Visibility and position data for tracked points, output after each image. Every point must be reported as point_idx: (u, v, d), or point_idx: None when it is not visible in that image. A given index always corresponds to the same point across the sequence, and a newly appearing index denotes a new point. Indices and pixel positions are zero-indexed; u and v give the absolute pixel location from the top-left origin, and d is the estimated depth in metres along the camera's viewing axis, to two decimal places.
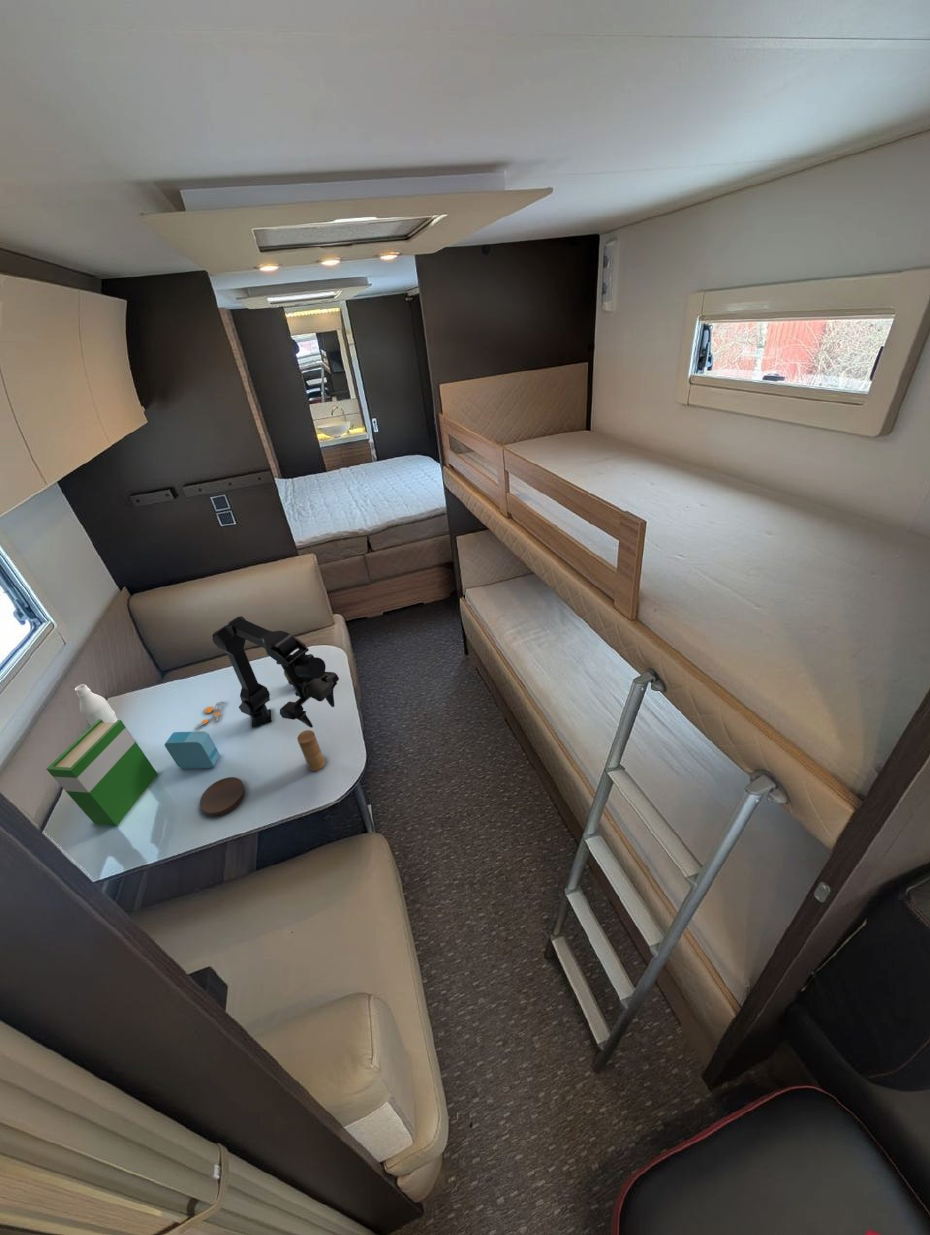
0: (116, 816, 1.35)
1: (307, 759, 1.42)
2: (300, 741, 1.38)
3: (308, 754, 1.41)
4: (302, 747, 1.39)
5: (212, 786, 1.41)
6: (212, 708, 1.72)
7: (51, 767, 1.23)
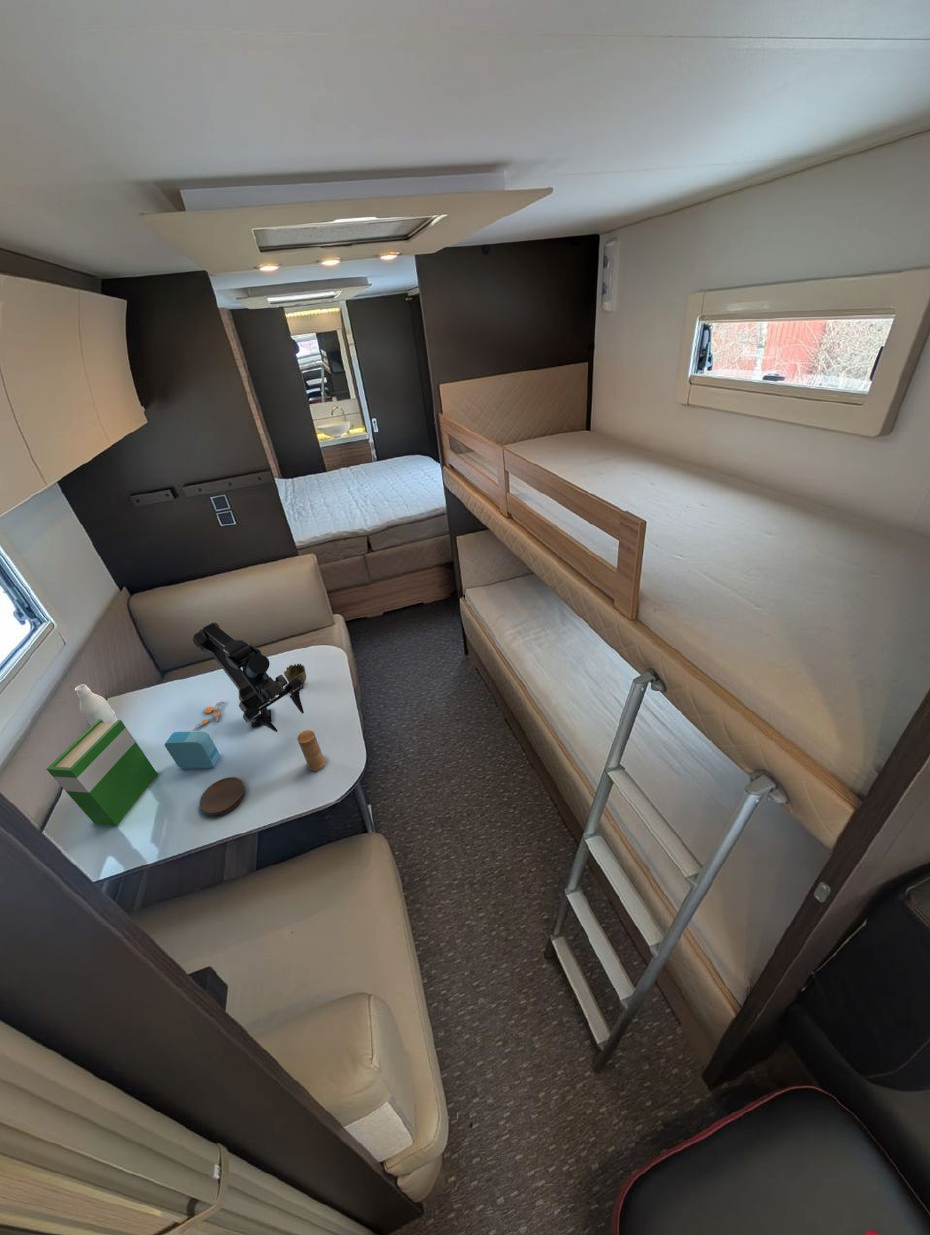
0: (116, 816, 1.35)
1: (307, 759, 1.42)
2: (300, 741, 1.38)
3: (308, 754, 1.41)
4: (302, 747, 1.39)
5: (212, 786, 1.41)
6: (212, 708, 1.72)
7: (51, 767, 1.23)
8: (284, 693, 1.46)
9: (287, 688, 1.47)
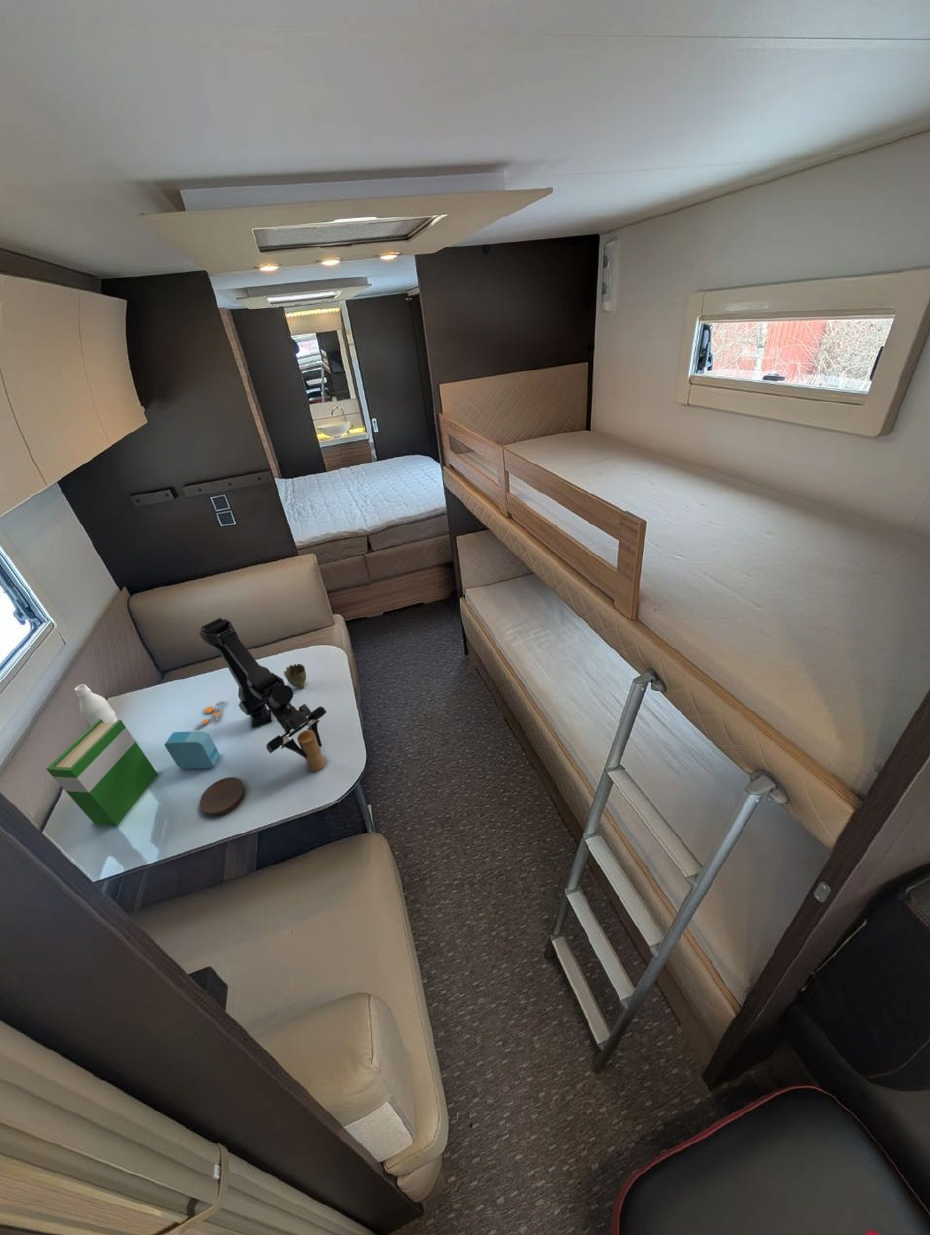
0: (116, 816, 1.35)
1: (307, 759, 1.42)
2: (300, 741, 1.38)
3: (308, 754, 1.41)
4: (302, 747, 1.39)
5: (212, 786, 1.41)
6: (212, 708, 1.72)
7: (51, 767, 1.23)
8: (307, 722, 1.44)
9: (310, 717, 1.45)
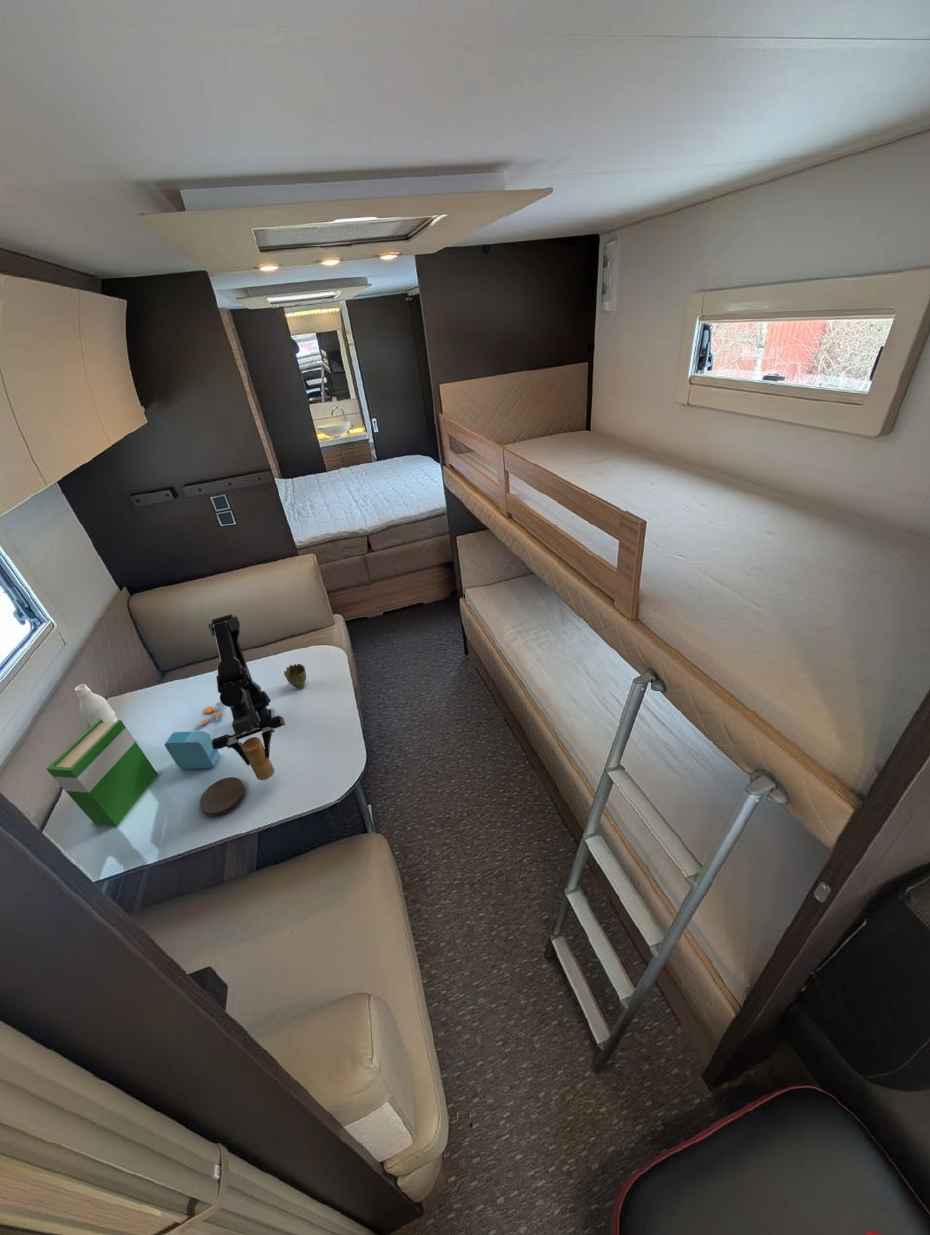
0: (116, 816, 1.35)
1: (251, 766, 1.34)
2: (243, 747, 1.30)
3: (250, 762, 1.32)
4: (245, 754, 1.31)
5: (212, 786, 1.41)
6: (212, 708, 1.72)
7: (51, 767, 1.23)
8: (262, 728, 1.35)
9: (267, 724, 1.36)
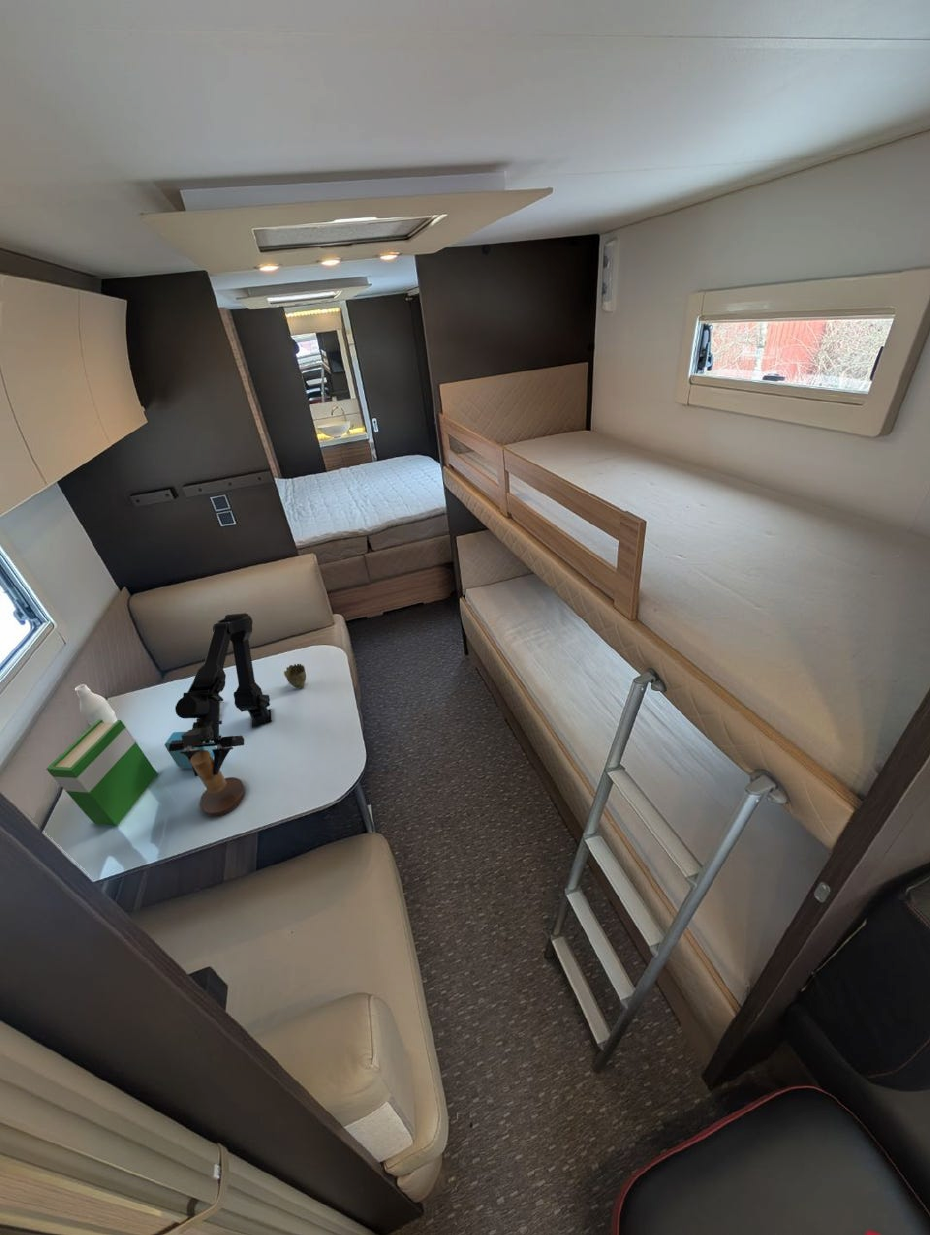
0: (116, 816, 1.35)
1: None
2: (191, 759, 1.29)
3: None
4: None
5: None
6: None
7: (51, 767, 1.23)
8: (218, 743, 1.33)
9: None
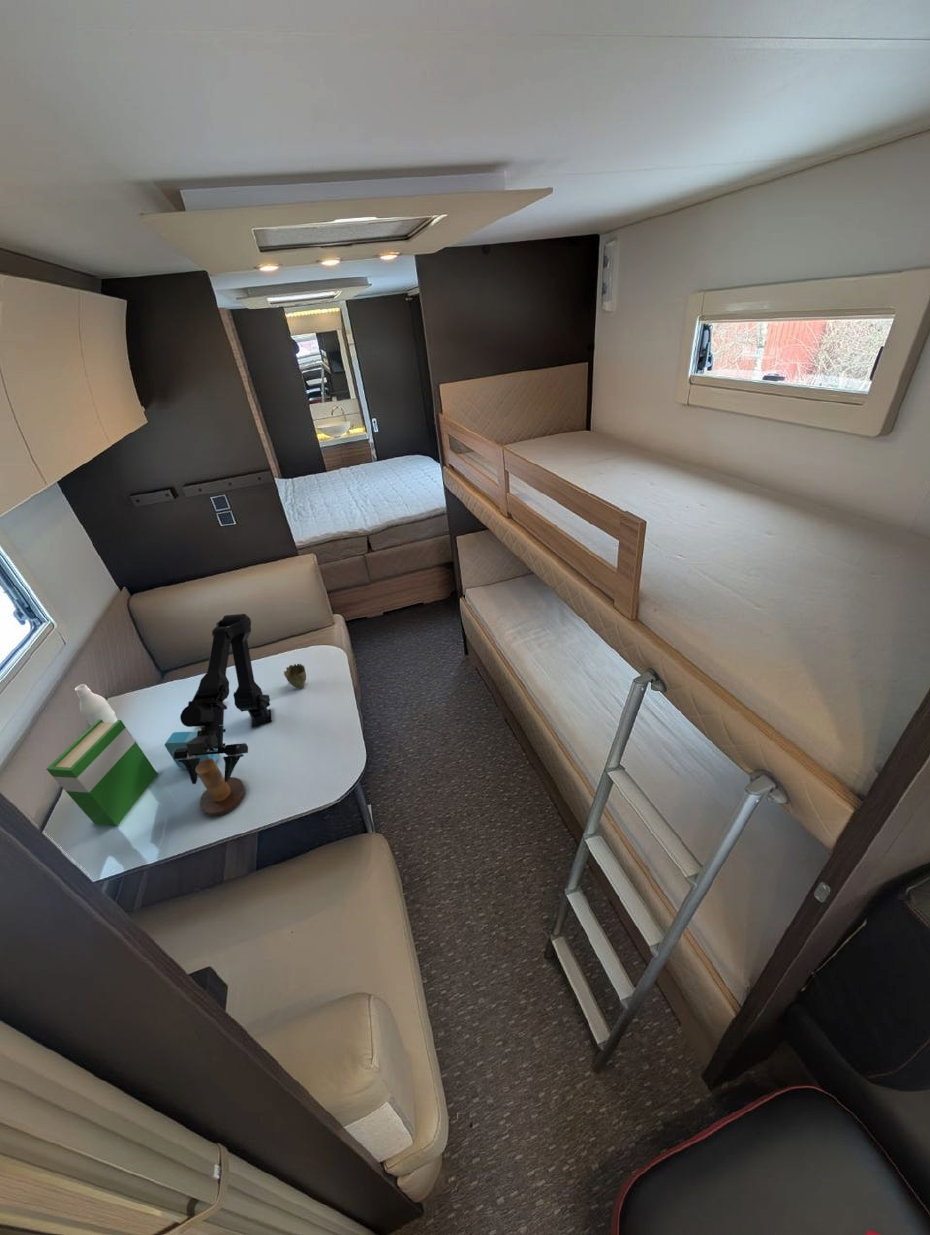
0: (116, 816, 1.35)
1: None
2: (196, 767, 1.31)
3: None
4: None
5: None
6: None
7: (51, 767, 1.23)
8: (222, 751, 1.34)
9: None
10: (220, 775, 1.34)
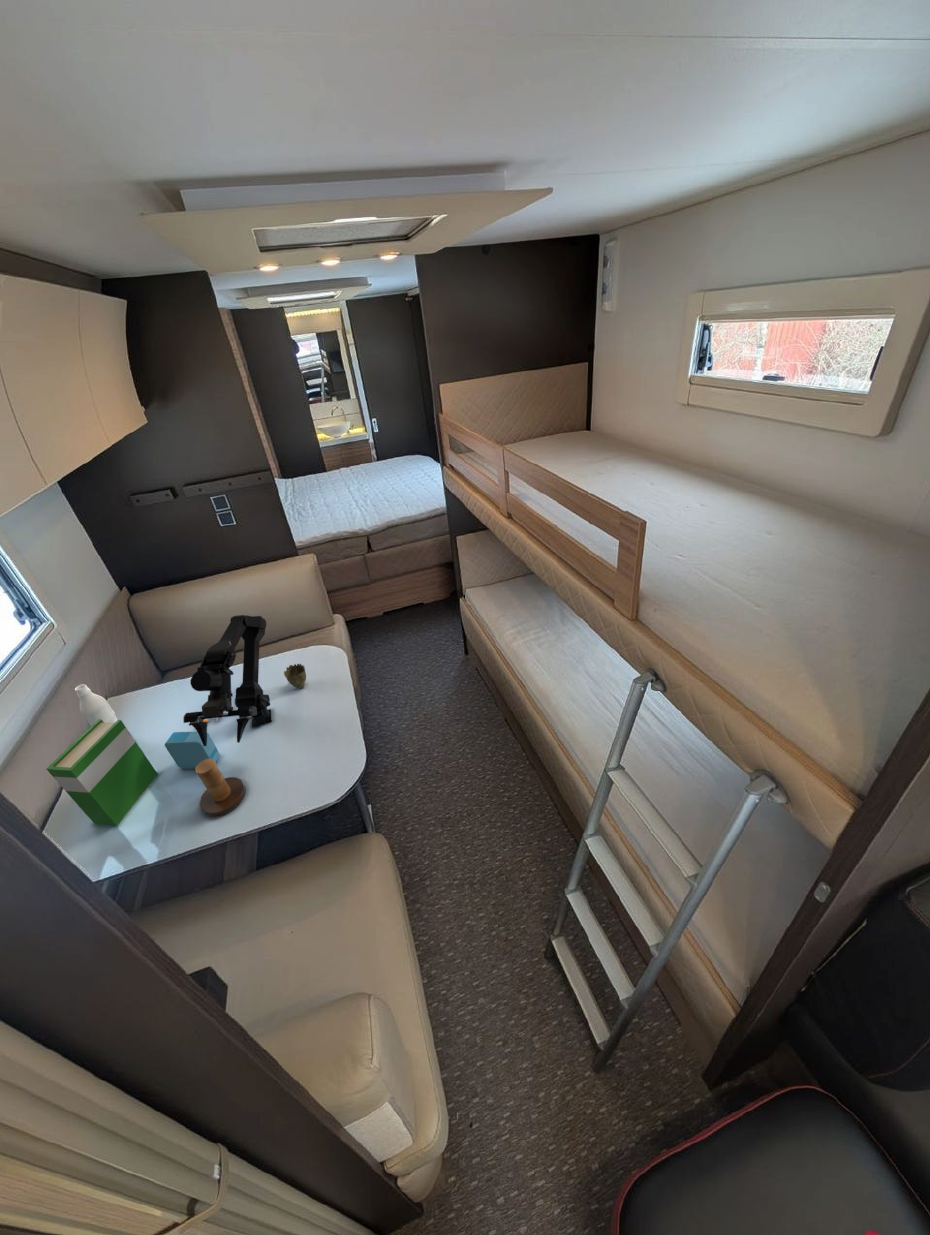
0: (116, 816, 1.35)
1: None
2: (196, 767, 1.31)
3: None
4: None
5: None
6: None
7: (51, 767, 1.23)
8: (233, 714, 1.40)
9: None
10: (220, 775, 1.34)
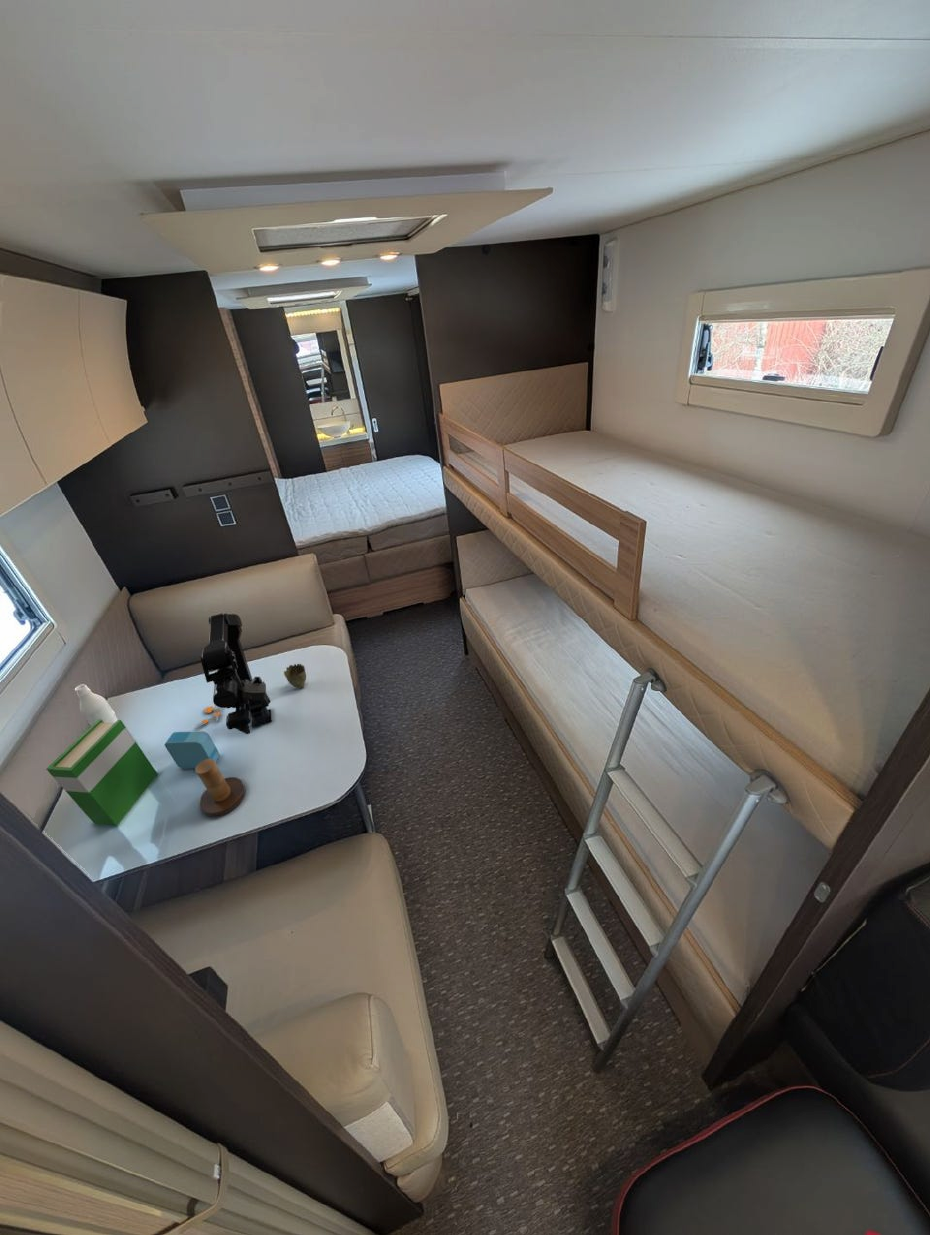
0: (116, 816, 1.35)
1: None
2: (196, 767, 1.31)
3: None
4: None
5: None
6: (212, 708, 1.72)
7: (51, 767, 1.23)
8: None
9: None
10: (220, 775, 1.34)
